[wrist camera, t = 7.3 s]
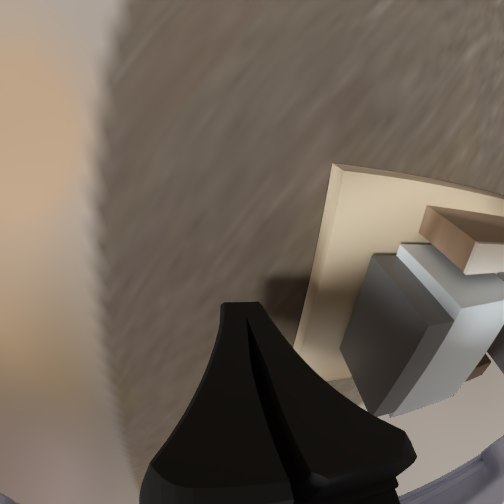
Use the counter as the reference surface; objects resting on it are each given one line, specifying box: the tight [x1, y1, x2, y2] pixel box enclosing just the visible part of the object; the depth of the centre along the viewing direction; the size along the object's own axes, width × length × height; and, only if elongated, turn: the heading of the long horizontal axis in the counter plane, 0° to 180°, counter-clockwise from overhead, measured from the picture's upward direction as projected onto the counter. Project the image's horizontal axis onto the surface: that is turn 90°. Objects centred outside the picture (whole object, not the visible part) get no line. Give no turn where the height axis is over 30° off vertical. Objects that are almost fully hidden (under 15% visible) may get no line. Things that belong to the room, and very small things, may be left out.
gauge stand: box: [293, 163, 504, 382], centre depth 11 cm, size 11×14×8 cm
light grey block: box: [339, 244, 504, 418], centre depth 10 cm, size 8×6×4 cm
